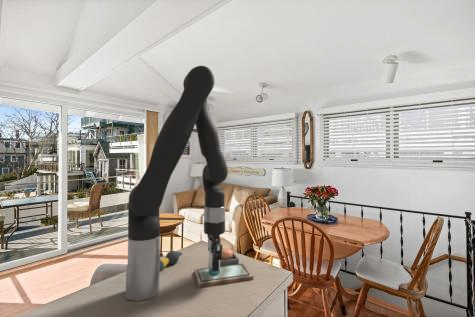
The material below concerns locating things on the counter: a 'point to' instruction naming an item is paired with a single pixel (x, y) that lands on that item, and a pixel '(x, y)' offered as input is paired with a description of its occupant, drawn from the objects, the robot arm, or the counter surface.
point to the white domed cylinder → (211, 265)
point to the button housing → (230, 261)
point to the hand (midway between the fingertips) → (214, 267)
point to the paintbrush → (170, 259)
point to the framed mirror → (223, 275)
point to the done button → (227, 254)
